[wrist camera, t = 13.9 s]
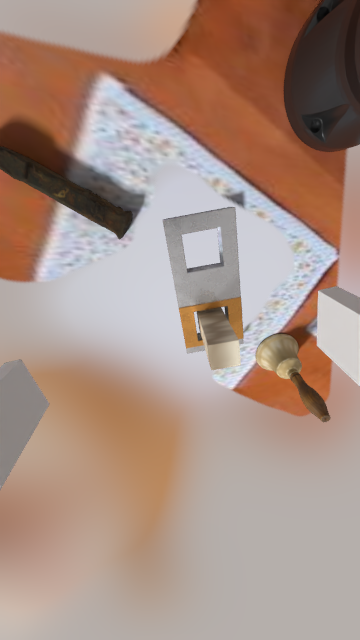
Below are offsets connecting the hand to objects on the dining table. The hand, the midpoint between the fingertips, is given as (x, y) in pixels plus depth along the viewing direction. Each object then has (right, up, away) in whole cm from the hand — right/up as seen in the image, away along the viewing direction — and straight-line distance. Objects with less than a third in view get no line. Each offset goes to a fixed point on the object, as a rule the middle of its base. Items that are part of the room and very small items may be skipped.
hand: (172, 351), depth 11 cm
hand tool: (-15, +19, +23) cm, 33 cm away
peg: (+5, +2, +32) cm, 33 cm away
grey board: (+5, +7, +29) cm, 31 cm away
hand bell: (+19, -5, +36) cm, 41 cm away
